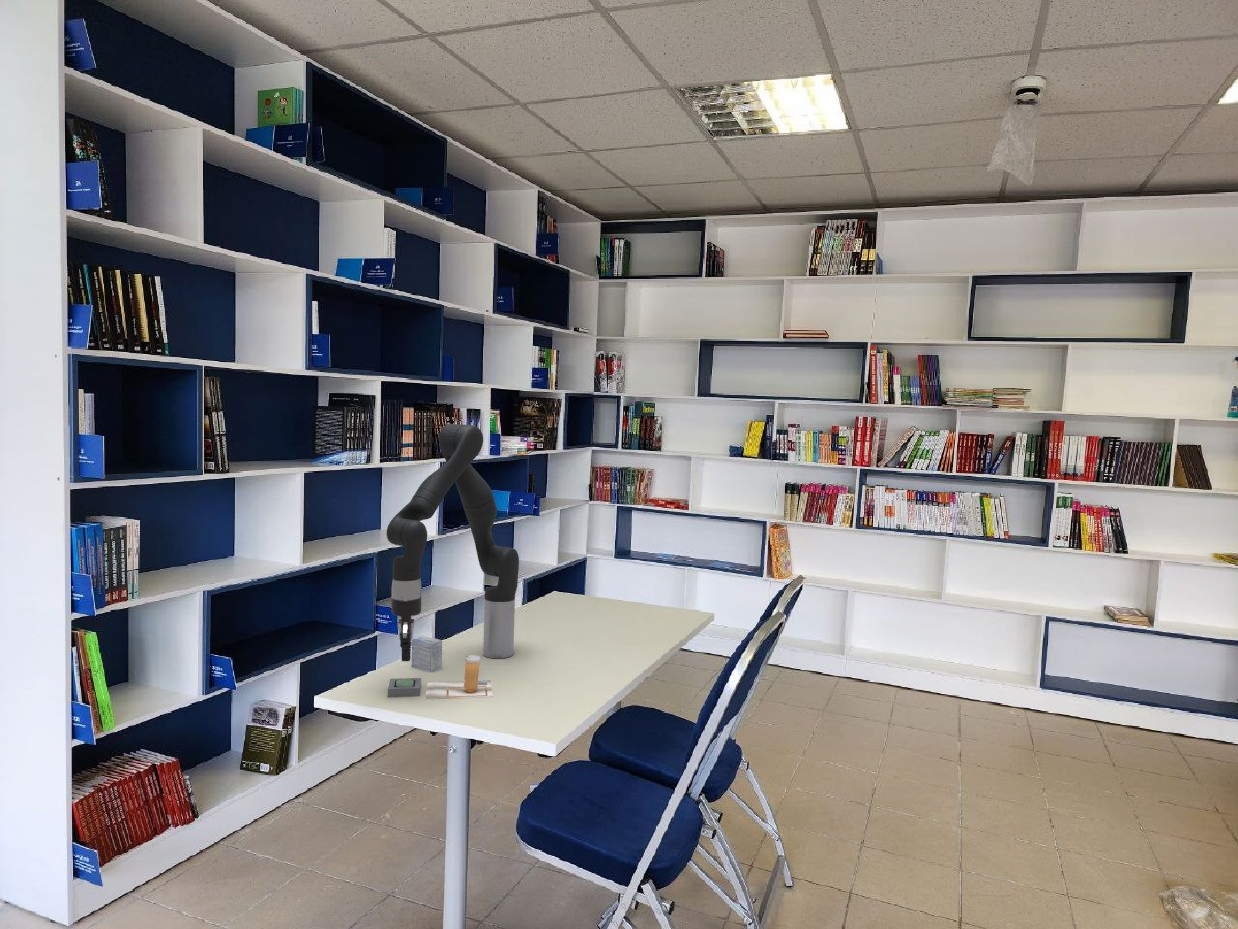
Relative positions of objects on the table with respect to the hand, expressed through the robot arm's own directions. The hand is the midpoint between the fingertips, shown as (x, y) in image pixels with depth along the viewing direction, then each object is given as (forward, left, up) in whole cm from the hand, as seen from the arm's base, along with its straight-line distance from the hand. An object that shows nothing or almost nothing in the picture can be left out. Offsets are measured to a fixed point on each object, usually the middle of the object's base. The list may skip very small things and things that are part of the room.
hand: (406, 660), depth 210 cm
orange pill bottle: (+2, +17, -8) cm, 19 cm away
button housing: (0, 0, -9) cm, 9 cm away
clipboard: (0, +14, -9) cm, 16 cm away
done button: (0, 0, -8) cm, 8 cm away
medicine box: (-19, +5, -9) cm, 21 cm away
